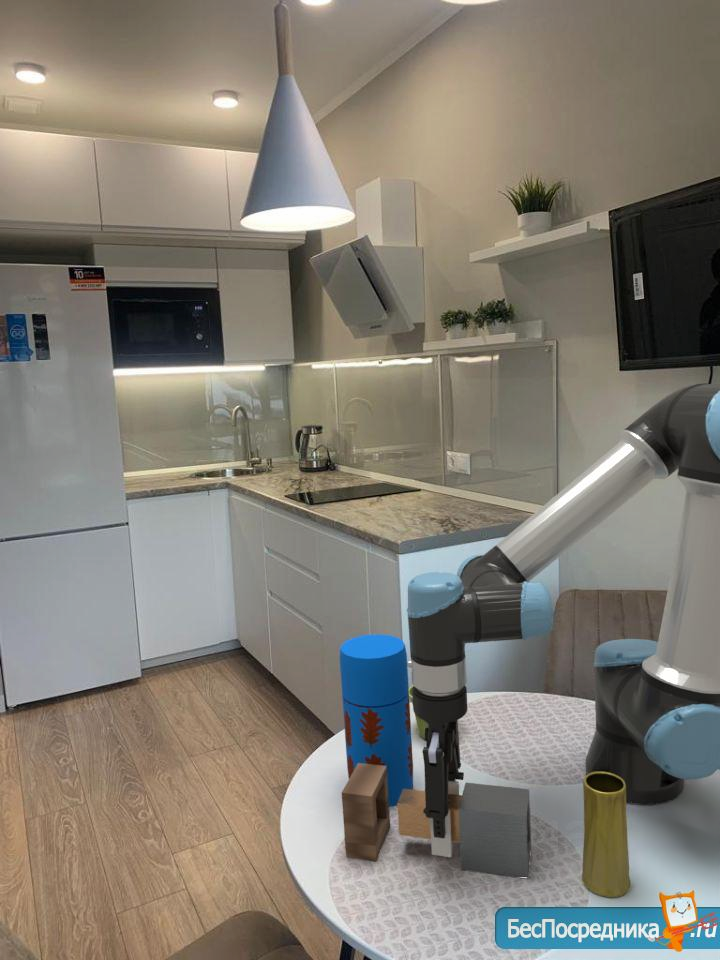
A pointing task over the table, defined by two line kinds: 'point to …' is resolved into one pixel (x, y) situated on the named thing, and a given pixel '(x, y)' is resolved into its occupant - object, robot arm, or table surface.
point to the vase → (605, 835)
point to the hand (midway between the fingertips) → (446, 837)
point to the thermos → (377, 708)
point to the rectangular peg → (424, 815)
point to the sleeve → (495, 830)
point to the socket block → (366, 811)
